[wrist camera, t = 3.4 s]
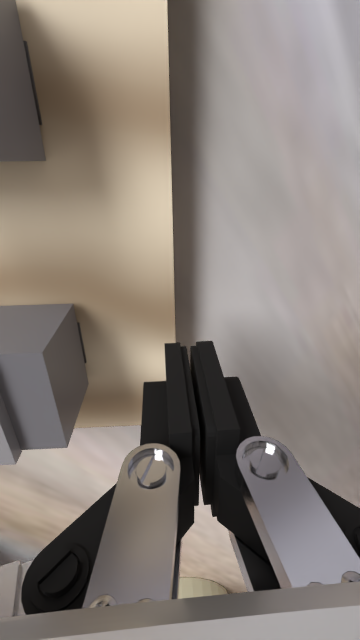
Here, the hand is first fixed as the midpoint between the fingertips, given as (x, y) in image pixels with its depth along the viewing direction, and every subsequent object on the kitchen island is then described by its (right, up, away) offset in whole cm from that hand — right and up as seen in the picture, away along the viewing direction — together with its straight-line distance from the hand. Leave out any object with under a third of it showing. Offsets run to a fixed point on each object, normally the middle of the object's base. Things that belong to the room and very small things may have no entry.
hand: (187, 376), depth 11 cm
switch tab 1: (-6, +1, +2) cm, 7 cm away
